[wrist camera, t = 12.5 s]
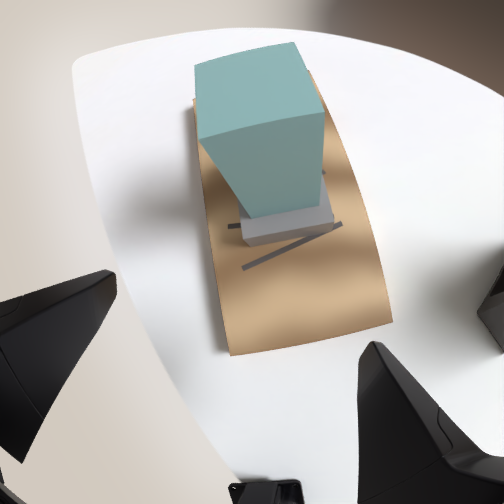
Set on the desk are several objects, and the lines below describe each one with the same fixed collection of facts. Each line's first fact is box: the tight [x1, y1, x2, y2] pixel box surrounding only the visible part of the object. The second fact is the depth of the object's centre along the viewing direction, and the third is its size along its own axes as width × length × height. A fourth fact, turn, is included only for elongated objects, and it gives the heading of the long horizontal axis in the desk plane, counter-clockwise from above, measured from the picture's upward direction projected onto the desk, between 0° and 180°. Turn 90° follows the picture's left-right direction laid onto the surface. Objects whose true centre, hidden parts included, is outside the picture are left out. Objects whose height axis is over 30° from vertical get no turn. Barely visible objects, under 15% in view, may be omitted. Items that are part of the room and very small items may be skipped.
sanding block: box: [194, 42, 335, 247], centre depth 15 cm, size 7×6×12 cm
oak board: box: [193, 70, 393, 356], centre depth 22 cm, size 24×12×2 cm, turn 10°
